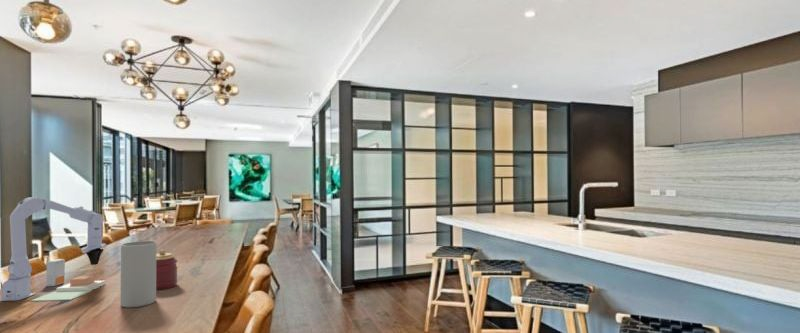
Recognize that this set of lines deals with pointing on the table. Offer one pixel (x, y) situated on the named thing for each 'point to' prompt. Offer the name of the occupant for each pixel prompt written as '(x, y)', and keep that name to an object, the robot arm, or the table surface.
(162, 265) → the canister
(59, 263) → the skincare box
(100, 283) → the board
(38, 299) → the mat
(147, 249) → the cylinder vase
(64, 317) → the table surface
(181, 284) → the table surface
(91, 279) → the brick
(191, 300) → the table surface
